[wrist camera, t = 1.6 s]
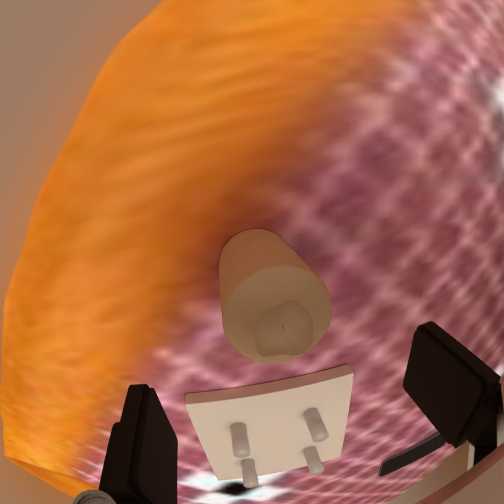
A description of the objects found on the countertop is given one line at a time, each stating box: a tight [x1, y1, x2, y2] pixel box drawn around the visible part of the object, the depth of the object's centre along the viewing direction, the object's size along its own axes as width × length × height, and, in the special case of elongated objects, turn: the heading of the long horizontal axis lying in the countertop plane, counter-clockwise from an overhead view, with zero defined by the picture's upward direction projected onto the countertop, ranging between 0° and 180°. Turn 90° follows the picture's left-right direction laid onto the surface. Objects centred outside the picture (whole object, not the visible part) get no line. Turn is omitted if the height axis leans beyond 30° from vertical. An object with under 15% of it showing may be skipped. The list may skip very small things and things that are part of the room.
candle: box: [219, 229, 332, 363], centre depth 17 cm, size 6×6×10 cm
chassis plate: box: [185, 364, 354, 488], centre depth 26 cm, size 16×16×5 cm
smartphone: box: [378, 432, 446, 477], centre depth 36 cm, size 7×1×15 cm
